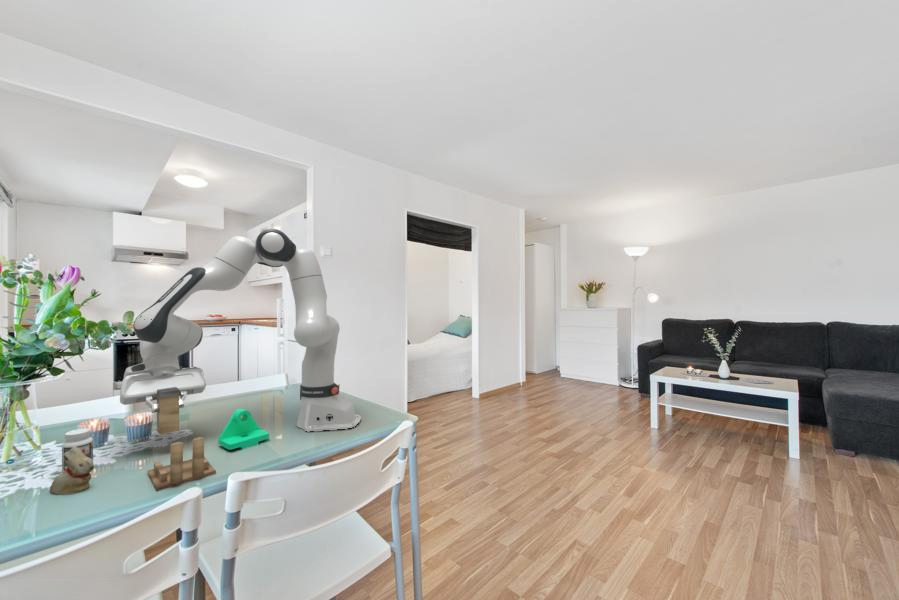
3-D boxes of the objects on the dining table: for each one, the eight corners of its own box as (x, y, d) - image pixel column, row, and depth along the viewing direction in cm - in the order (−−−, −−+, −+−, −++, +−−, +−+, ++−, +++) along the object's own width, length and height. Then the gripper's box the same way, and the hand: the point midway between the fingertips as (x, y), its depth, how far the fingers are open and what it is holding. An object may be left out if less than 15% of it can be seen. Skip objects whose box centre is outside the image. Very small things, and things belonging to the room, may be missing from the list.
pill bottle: (98, 466, 97) (99, 428, 97) (71, 476, 92) (71, 436, 92) (83, 463, 99) (84, 426, 99) (55, 473, 93) (56, 433, 93)
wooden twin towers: (147, 473, 93) (148, 435, 93) (202, 459, 102) (203, 424, 102) (157, 492, 85) (157, 450, 85) (216, 474, 93) (217, 436, 93)
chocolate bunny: (64, 499, 81) (65, 454, 81) (46, 491, 84) (46, 448, 84) (96, 487, 86) (96, 444, 86) (77, 480, 89) (78, 439, 89)
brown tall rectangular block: (156, 430, 106) (156, 389, 106) (175, 426, 110) (175, 386, 110) (159, 434, 103) (159, 392, 103) (179, 430, 107) (179, 389, 107)
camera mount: (229, 453, 106) (229, 418, 106) (218, 447, 111) (218, 413, 111) (270, 441, 116) (270, 409, 116) (258, 435, 120) (258, 404, 120)
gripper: (199, 371, 122) (208, 407, 115) (117, 382, 107) (121, 423, 100) (203, 360, 119) (212, 395, 112) (118, 368, 104) (123, 410, 97)
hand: (168, 409), depth 106 cm, fingers closed on brown tall rectangular block, 4 cm apart
